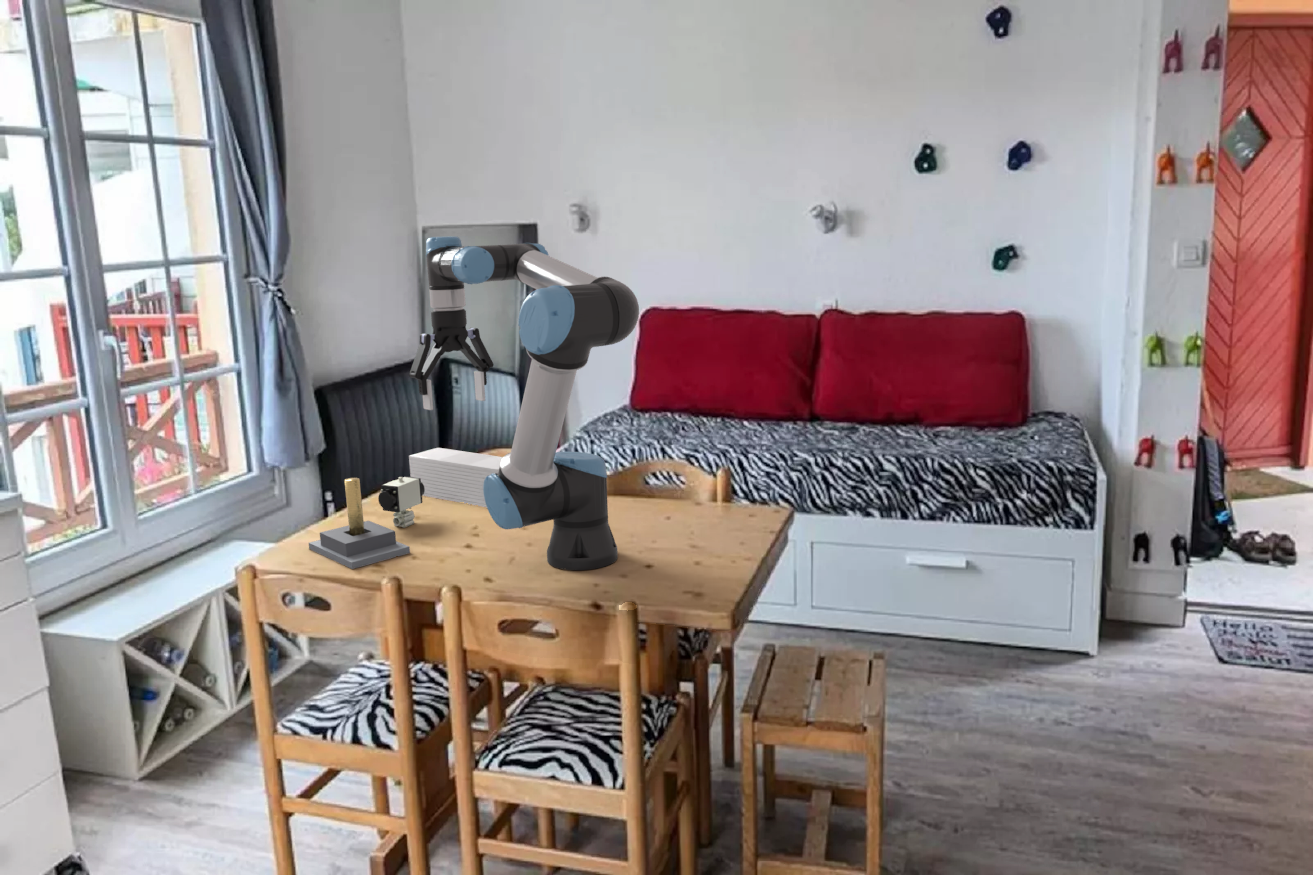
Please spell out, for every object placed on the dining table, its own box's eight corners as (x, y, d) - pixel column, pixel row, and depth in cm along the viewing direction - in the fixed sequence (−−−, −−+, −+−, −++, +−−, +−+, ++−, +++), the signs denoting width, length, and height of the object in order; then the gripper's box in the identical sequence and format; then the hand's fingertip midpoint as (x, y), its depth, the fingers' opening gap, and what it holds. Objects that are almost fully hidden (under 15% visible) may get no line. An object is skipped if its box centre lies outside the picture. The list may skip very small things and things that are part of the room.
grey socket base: (410, 553, 229) (408, 533, 228) (352, 569, 220) (350, 548, 219) (365, 534, 244) (363, 516, 243) (309, 549, 234) (307, 530, 233)
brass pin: (368, 544, 231) (362, 479, 228) (355, 547, 229) (348, 482, 226) (361, 541, 234) (355, 477, 231) (348, 544, 232) (341, 479, 228)
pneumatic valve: (427, 519, 254) (424, 472, 252) (395, 533, 244) (391, 484, 241) (410, 517, 257) (406, 470, 254) (377, 530, 246) (373, 481, 244)
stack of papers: (411, 494, 279) (408, 455, 276) (440, 485, 287) (437, 447, 285) (500, 510, 261) (497, 469, 259) (528, 500, 269) (526, 460, 267)
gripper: (485, 303, 236) (491, 394, 241) (388, 312, 220) (396, 411, 224) (505, 304, 231) (510, 398, 236) (406, 314, 214) (414, 415, 219)
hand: (455, 404), depth 230 cm, fingers open, 13 cm apart
